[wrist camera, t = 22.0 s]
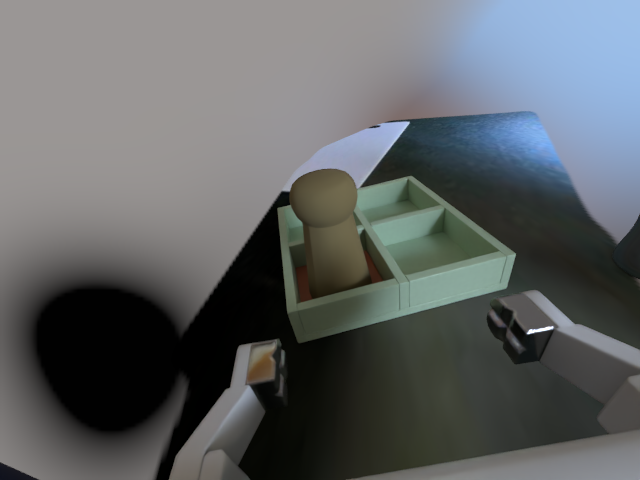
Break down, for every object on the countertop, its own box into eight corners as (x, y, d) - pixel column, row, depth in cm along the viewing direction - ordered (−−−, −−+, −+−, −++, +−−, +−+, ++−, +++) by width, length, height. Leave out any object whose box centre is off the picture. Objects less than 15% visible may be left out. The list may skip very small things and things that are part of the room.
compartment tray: (298, 344, 23) (287, 313, 21) (284, 232, 38) (277, 208, 36) (506, 288, 24) (516, 253, 22) (411, 200, 39) (411, 175, 37)
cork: (349, 256, 30) (333, 155, 23) (385, 287, 25) (378, 171, 19) (299, 280, 28) (268, 178, 22) (328, 319, 23) (299, 202, 17)
